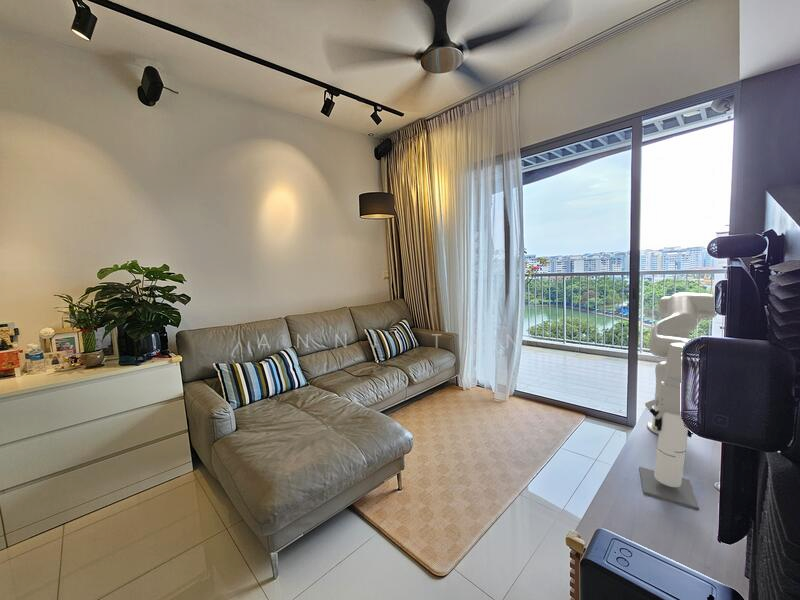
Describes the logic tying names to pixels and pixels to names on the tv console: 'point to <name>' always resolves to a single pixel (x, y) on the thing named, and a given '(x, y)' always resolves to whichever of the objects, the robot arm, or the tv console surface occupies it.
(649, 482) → the rubber mat
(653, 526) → the tv console surface
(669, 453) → the cylindrical container
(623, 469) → the tv console surface
